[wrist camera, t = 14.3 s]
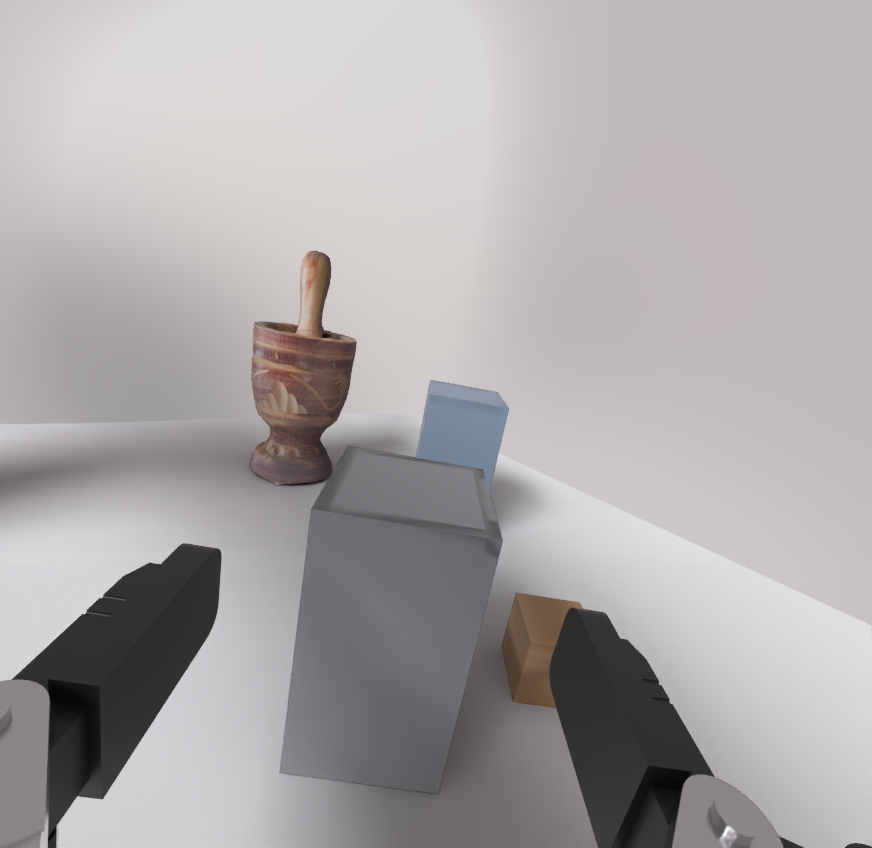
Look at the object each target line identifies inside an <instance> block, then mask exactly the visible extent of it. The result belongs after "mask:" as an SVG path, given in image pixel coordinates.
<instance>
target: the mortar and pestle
mask: <svg viewBox="0 0 872 848" xmlns="http://www.w3.org/2000/svg"><path fill="white" fill-rule="evenodd" d="M330 278H331V262H330V258H329V257H328V256H327V255H325V254H324V253H321V252H318V251H311V252H308V253H307V254H306V255H305V257H304V259H303V260H302V265H301V276H300V299H301V300H300V317H299V324H298V326H297V325H293V324H286V323H274V322H255V323H254V329H253V357H252V387H253V394H254V399H255V404H256V409H257V412H258V414H259V415H260V416H261V417H262V418H263V420H264V421H265V422H266V423H267V424H268V425H269V426H270V437H269V438H268V439H267V441H266V442H263V443H261V444H259V445H258V446H257V447H256V449H255V450H254V452H253V453H252V456H251V460H250V468H251V470H252V471H253V472H254V473H256V474H258V475H259V476H261V477H263V478H265V479H267V480H269V481H270V482H272V483H274V484H276V485H284V484H299V483H308V482H316V481H319V480H323V479H326V478H327V477H329V476H330V474H331V472H332V464H331V460H330V459H329V457H328V455H327V452H326V449H325V448H324V446H323V444H322V443H321V441H320V438H321V435H322V433H323V432H324V431H325V430H326V429H327V428H328V427H329V426H331V425H332V424H333V423H334V422H336V421H337V419H338V417H339V415H340V412H341V410H342V408H343V406H344V403H345V400H346V398H347V395H348V391H349V386H350V379H351V372H352V366H353V361H354V357H355V352H356V340H355V339H354V338H351V337H348V336H345V335H341V334H337V333H332V332H330V331H324V329H323V327H322V313H323V308H324V302H325V299H326V296H327V292H328V289H329V285H330Z"/></svg>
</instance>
